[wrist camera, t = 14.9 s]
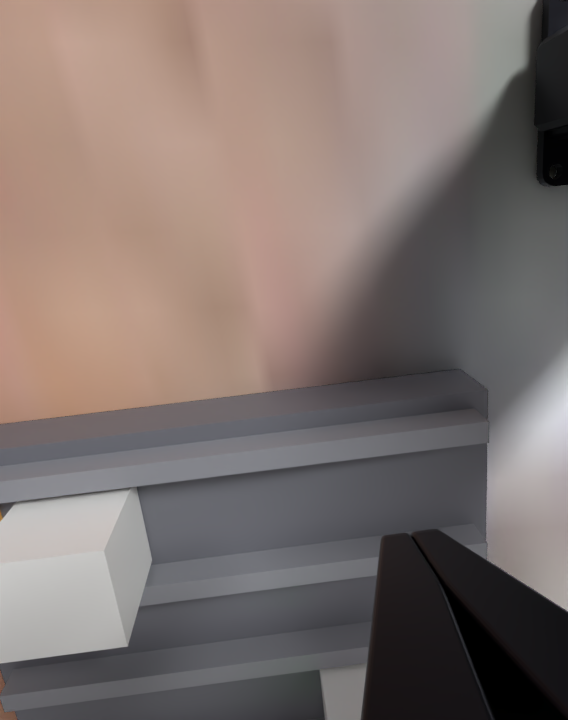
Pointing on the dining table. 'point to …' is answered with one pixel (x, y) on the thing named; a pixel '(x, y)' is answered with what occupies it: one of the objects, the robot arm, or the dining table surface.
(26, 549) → the white cube
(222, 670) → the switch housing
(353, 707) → the pale grey cube
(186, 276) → the dining table surface
